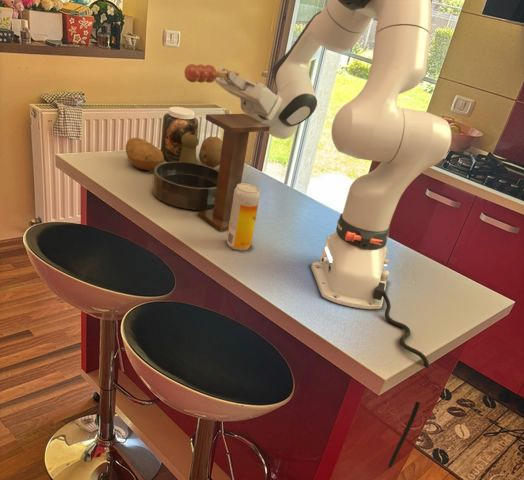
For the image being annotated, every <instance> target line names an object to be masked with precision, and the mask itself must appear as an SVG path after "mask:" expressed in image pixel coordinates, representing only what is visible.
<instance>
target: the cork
mask: <svg viewBox="0 0 524 480" xmlns="http://www.w3.org/2000/svg"><path fill="white" fill-rule="evenodd" d="M181 142H182V145H183V146H182V150H181V155H180V159H179V162H191V163H197V148H198V147H197V146H198V144H199V137H198V138H197V137H196V136H195V135H192V134H184V135H183V136H182V138H181Z"/></svg>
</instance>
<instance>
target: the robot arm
mask: <svg viewBox="0 0 524 480" xmlns="http://www.w3.org/2000/svg"><path fill="white" fill-rule="evenodd" d="M432 3H433V0H327V1H326V4H325V6H324V7H323V9H322V10H320V11H318V12H316V13H315V14H314V15H313V16H312V17H311V18H310V20H309V21H308V22H307V24H306V25H305V26H304V28H303V30H302V31H301V32H300V34H299V35H298V36H297V38H296V40H295V42H294V43H293V44H292V45H291V47H290V49H289V50H288V51H287V52H286V53H285V54H284V55H283V56H282V57H281V58H280V59H279V60H278V61H277V62H276V64H275V65H274V67H273V70H272V80H273V82H274V85H275V87H276V89H277V93H278V94H276V93H274V92H273V91H272V90H270V88H269V87H267V86H266V85H265V84H264V83H263V82H252V81H250V80H249V79H246V78H243V77H242V76H240V75H239V76H237V75H236V74H235V73H234V72H232V70H228V69H227V68H225V67H218V68H217V69H216V71H229V72H228V74H227V78H220V77H216V79H215V81H214V82H215V83H216V84H217V85H218V86H219V87H220V88H222V90H224V91H226V92H227V93H228V94H230V95H232V96H234V97H236V98H238V99H240V100H239V101H240V108H241V111H242V112H243V114H246V115H248V116H250V117H252V118H254V119H256V120H258V121H260V122H262V123H264V124H266V125H268V126H270V129H269V131H265V132H266V133H267V134H268V135H270V136H272V137H274V138H276V139H279V140H287V139H289V138H290V137H293V135H294V134H295V133H296V132H297V131H298V127H299V125H300V124H301V123H304V122H305V121H306V120H308V119H309V118H310V117H311V116H312V115H313V114H314V112H315V111H316V109H317V106H318V99H317V97H316V96H317V95H316V92H315V89H314V86H313V83H312V80H311V77H310V72H309V64H310V61H311V60H312V58H313V57H314V55H315V54H316V53H317V51H318V50H319V49H320V48H321V47H322V48H324V49H326V50H328V51H331V52H334V53H343V52H347V51H349V50H351V49H352V48H353V47H354V46H355V45H356V44H357V43H358V42H359V40H360V39H361V37H362V36H363V34H364V32H365V31H366V29H367V28H368V26H369V25H370V23H371V21H372V20H373V21H376V26H375V34H374V42H373V43H374V44H373V52H372V58H371V63H370V70H369V74H368V77H367V80H366V82H365V84H364V86H363V87H362V89H361V90H360V92H359V93H358V94H357V95H356V96H355V97H354V98H353V99H351V100H349V102H347V103H345V104H344V105H343V106H342V107H340V108H339V110H338V111H337V112H336V114H335V116H334V118H333V120H332V125H331V139H332V143H333V145H334V148H335V149H336V150H337V151H338V152H339V153H341V154H344V155H346V156H348V157H351V158H354V159H357V160H364V161H370V162H378V163H379V164H378V166H377V167H376V168H374V169H373V170H372V171H370V172H368V173H365V174H363V175H361V176H359V177H357V178H355V180H354V181H352V183H351V185H350V186H349V189H348V192H347V197H346V200H345V203H344V207H343V210H342V213H341V214H340V215H339V217H338V219H337V223H336V228H335V232H334V233H332V234H330V235H329V236H327V237H326V240H325V242H324V243H325V244H324V246H323V250H322V253H321V256H320V259H319V261H315V262H312V263H311V266H310V268H311V271H312V274H313V276H314V280H315V282H316V284H317V287H318V290H319V293H320V295H321V297H323V298H324V299H326V300H328V301H330V302H332V303H335V304H339V305H342V306H346V307H351V308H356V309H362V310H381V308H382V307H383V303H384V301H385V306H386V308H385V311H384V317H385V319H386V321H387V322H389V324H391V325H393V326H396V327H399V328H401V329H403V330H405V333H404V334H403V335H402V336H401V337H400V339H399V344H400V345H401V347H402V348H403V349H404V350H406V351H408V352H409V353H411V354H413V355H416V356H418V357H419V358H420V359H421V360H422V361H423V364H424V367H425V369H429V370H430V368H431V367H430V362H429V360H428V357H426V355H425V354H424V353H423V352H421V351H419V350H418V349H416V348H414V347H412V346H410V345H408V344H406V342H405V340H406V339H407V338H408V337H410V335H411V329H410V327H408V326H407V325H406V324H404V323H402V322H399V321H396V320H395V319H393V318H391V316H390V312H391V306H392V305H391V301H390V299H389V296H388V295H387V293H386V287H387V282H388V277H389V275H390V271H389V270H386V269H384V266H385V267H387V266H388V264H389V261H390V259H388V258H386V257H387V254H388V251H389V249H388V247H387V246H386V245H387V241H388V239H389V235H390V230H391V227H390V224H391V222H392V219H393V216H394V214H395V211H396V208H397V206H398V204H399V201H400V199H401V197H402V195H403V194H404V193H405V191H406V189H407V188H408V187H409V186H410V184H412V182H413V181H415V179H416V178H417V177H418V176H420V175H421V174H423V173H424V172H425V171H427V170H429V169H430V168H432V167H434V166H437V165H438V164H440V163H441V162H442V161H443V159H445V157H446V156H447V154H448V153H449V150H450V148H451V144H452V138H453V137H452V129H451V126H450V124H449V122H448V120H446V119H445V118H442V117H441V116H438V115H436V114H433V113H431V112H428V111H424V110H416V109H411V108H404V107H400V106H398V105H397V104H398V98H399V95H400V94H403V93H405V92H408V91H410V90H412V89H414V88H416V87H418V85H419V84H421V82H422V81H423V79H425V75H426V73H427V67H428V58H429V49H430V43H431V42H430V40H431V33H432ZM420 405H421V402H420V401H415V403H414V406H413V409H412V412H411V414H410V416H409V419H408V422H407V424H406V426H405V427H404V430H403V433H402V435H401V436H400V438H399V440H398V442H397V445H396V446H395V449H394V451H393V454H392V455H391V458H390V460H389V463H388V468H390V469H391V468H393V466H394V465H395V461H396V459H397V457H398V454H399V452H400V451H401V448H402V446H403V444H404V442H405V440H406V438H407V436H408V434H409V432H410V430H411V428H412V426H413V423H414V421H415V419H416V416H417V413H418V411H419V408H420Z"/></svg>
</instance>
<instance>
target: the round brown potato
mask: <svg viewBox="0 0 524 480" xmlns="http://www.w3.org/2000/svg"><path fill="white" fill-rule="evenodd" d="M222 142H223V139H221V138H220V137H218V136H208V137H206V138H204V140H203V141H202V143H201V146H200V149H199V152H198V160H199V161H200V163H202V165H205V166H208V167H211V168H214V169H215V168H216V167H219V165H220V157H221V150H222Z"/></svg>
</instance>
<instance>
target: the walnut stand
mask: <svg viewBox="0 0 524 480" xmlns="http://www.w3.org/2000/svg"><path fill="white" fill-rule="evenodd" d="M205 120H206V121H207V122H210V123H211V124H213V125H215V126H217V127H219V128H221V129H222V130H223V136H222V141H223V142H222V150H221V157H220V165H218V171H219V172H218V180H217V188H216V195H215V203H214V209H207V210H198V211H197V216H198V218H201V219H202V220H203V221H205V222H206V223H207V224H209V225H211V226H212V227H213V228H215V229H216V230H217V231H219V232H223V231H228V229H229V222H230V216H231V209H232V202H233V196H234V190H235V188H236V187H237V185H238V184H241V183H242V180H243V174H244V173H243V172H244V168H245V163H246V156H247V149H248V142H249V136H250V133H257V132H259V133H260V132H266V131H269V129H270V126H268V125H266V124H264V123H262V122H260V121H258V120H256V119H254V118H252V117H250V116H248V115H247V114H246V113H212V114H211V113H209V114H207V113H206V114H205Z"/></svg>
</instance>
